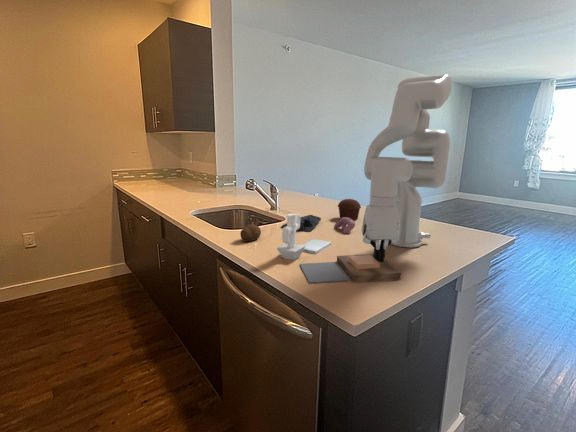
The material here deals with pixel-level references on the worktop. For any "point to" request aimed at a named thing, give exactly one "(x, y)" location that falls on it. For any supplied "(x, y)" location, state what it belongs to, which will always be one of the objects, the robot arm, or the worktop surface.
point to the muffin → (349, 209)
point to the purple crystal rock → (345, 224)
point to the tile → (364, 262)
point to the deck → (368, 270)
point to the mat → (324, 272)
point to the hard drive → (316, 246)
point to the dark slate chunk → (307, 223)
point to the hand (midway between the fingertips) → (378, 260)
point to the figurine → (291, 238)
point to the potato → (250, 233)
